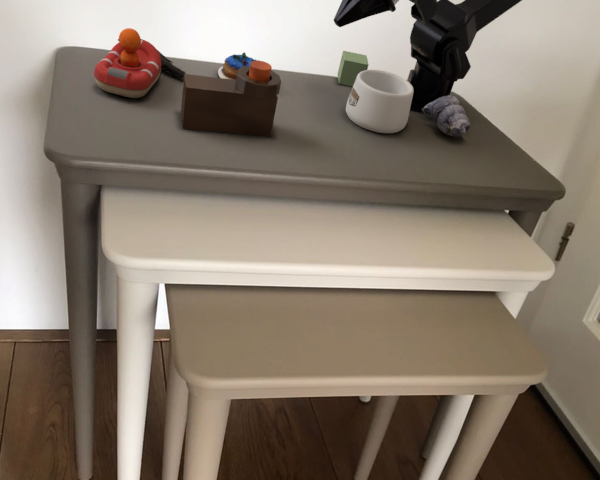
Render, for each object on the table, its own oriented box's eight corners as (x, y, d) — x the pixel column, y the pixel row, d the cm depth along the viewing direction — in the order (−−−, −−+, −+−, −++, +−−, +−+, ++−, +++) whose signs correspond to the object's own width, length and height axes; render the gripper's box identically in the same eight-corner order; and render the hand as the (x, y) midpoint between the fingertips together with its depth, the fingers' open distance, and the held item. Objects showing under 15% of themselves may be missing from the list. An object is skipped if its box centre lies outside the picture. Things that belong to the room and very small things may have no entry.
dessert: (220, 84, 99) (225, 42, 98) (213, 92, 105) (216, 53, 104) (272, 94, 101) (277, 53, 101) (261, 101, 107) (266, 63, 107)
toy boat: (165, 75, 99) (170, 22, 94) (143, 106, 91) (146, 51, 86) (115, 61, 99) (117, 8, 94) (87, 92, 90) (88, 35, 85)
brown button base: (267, 120, 95) (277, 68, 90) (274, 140, 91) (284, 87, 86) (180, 111, 92) (184, 57, 87) (182, 131, 88) (187, 76, 83)
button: (267, 74, 89) (270, 61, 88) (271, 83, 87) (273, 70, 86) (247, 72, 88) (249, 59, 87) (249, 81, 86) (251, 68, 85)
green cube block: (360, 78, 113) (366, 55, 110) (362, 88, 110) (368, 64, 107) (337, 74, 112) (343, 50, 110) (338, 83, 110) (344, 59, 107)
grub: (423, 119, 109) (454, 154, 103) (415, 95, 104) (446, 130, 98) (452, 101, 108) (484, 134, 102) (444, 76, 104) (478, 109, 98)
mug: (414, 137, 101) (427, 99, 97) (355, 133, 97) (366, 94, 93) (387, 100, 109) (398, 64, 105) (332, 95, 106) (341, 58, 101)
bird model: (110, 28, 99) (107, 46, 101) (182, 72, 97) (178, 89, 98) (124, 26, 101) (121, 43, 103) (195, 69, 99) (190, 85, 101)
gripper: (354, -139, 86) (270, -47, 88) (453, -95, 77) (357, 8, 78) (381, -70, 96) (306, 12, 97) (473, -22, 86) (387, 68, 88)
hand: (336, 23), depth 90 cm, fingers closed
